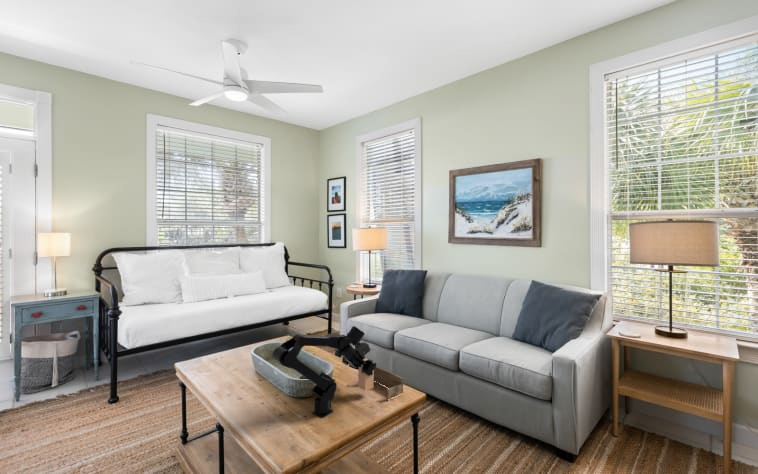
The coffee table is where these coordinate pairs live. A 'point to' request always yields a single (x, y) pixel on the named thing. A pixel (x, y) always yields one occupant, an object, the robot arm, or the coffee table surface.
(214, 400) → the coffee table surface
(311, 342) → the robot arm
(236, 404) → the coffee table surface
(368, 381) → the terracotta block
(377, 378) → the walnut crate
